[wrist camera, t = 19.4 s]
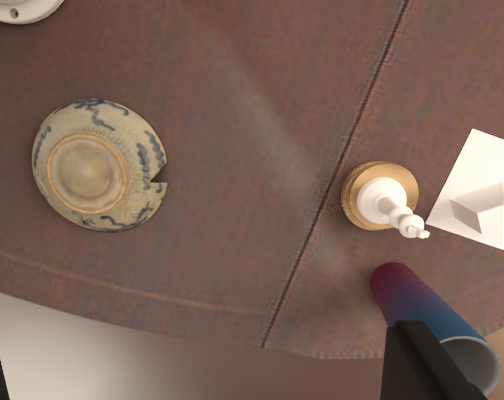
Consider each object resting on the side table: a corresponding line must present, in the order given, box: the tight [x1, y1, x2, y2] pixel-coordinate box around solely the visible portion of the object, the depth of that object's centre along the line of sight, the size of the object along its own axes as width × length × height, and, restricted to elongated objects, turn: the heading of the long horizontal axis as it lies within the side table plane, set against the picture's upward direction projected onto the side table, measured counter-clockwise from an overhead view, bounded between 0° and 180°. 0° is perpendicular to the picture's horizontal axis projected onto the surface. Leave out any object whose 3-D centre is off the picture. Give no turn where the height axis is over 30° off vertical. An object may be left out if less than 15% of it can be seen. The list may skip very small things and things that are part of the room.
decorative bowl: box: [31, 99, 167, 233], centre depth 39 cm, size 15×4×15 cm
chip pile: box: [341, 161, 418, 230], centre depth 39 cm, size 8×7×3 cm
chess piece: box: [357, 177, 430, 239], centre depth 33 cm, size 5×5×10 cm
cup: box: [371, 262, 501, 396], centre depth 36 cm, size 7×7×15 cm
